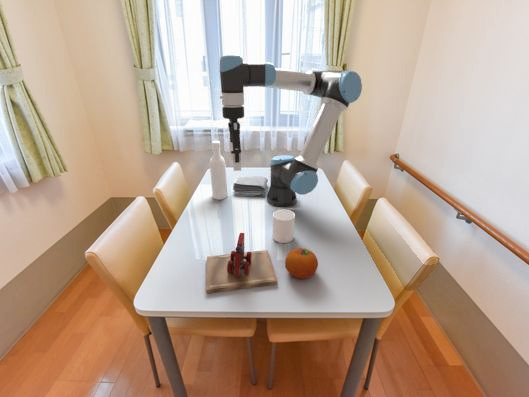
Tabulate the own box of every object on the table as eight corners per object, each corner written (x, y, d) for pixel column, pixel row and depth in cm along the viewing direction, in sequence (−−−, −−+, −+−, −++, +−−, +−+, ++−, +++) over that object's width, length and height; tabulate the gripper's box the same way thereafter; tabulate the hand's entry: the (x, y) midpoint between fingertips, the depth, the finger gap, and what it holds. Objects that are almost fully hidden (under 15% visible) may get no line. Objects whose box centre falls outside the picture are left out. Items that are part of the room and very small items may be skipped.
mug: (292, 227, 114) (293, 205, 109) (294, 244, 103) (295, 220, 99) (272, 227, 114) (273, 205, 110) (272, 243, 104) (272, 220, 99)
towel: (265, 199, 140) (265, 185, 137) (231, 197, 142) (230, 183, 138) (267, 187, 154) (268, 174, 150) (236, 186, 155) (236, 173, 152)
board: (267, 253, 98) (267, 249, 97) (277, 284, 84) (277, 280, 83) (207, 260, 95) (207, 256, 94) (206, 293, 80) (206, 289, 80)
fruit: (294, 287, 83) (295, 267, 79) (279, 267, 91) (280, 248, 88) (323, 278, 87) (325, 258, 83) (306, 259, 95) (307, 240, 92)
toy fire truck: (225, 279, 84) (223, 253, 79) (233, 255, 95) (231, 230, 90) (247, 281, 83) (246, 254, 78) (252, 256, 94) (252, 231, 90)
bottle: (230, 198, 140) (226, 142, 126) (216, 202, 136) (211, 144, 122) (223, 193, 145) (219, 138, 132) (210, 196, 142) (204, 141, 128)
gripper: (221, 102, 102) (224, 155, 111) (223, 111, 80) (227, 176, 89) (240, 101, 103) (242, 154, 112) (248, 110, 81) (249, 175, 90)
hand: (235, 164), depth 101 cm, fingers open, 13 cm apart
